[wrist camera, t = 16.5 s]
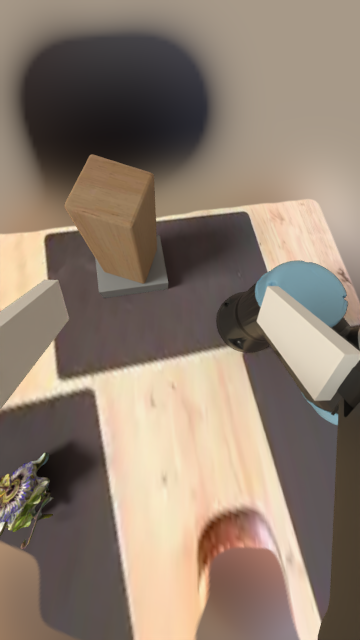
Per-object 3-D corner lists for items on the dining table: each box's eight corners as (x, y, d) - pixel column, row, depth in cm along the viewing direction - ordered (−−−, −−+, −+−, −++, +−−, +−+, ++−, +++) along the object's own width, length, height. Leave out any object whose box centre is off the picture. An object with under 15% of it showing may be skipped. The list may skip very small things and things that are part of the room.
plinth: (159, 244, 54) (159, 234, 50) (167, 289, 51) (168, 282, 47) (98, 251, 52) (93, 241, 48) (104, 298, 49) (99, 292, 45)
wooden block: (118, 236, 49) (89, 151, 29) (157, 248, 49) (154, 172, 29) (103, 272, 46) (61, 205, 27) (144, 285, 47) (132, 227, 27)
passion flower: (45, 455, 45) (37, 438, 38) (76, 493, 43) (74, 483, 35) (-17, 510, 37) (-43, 504, 29) (17, 561, 34) (-3, 569, 27)
